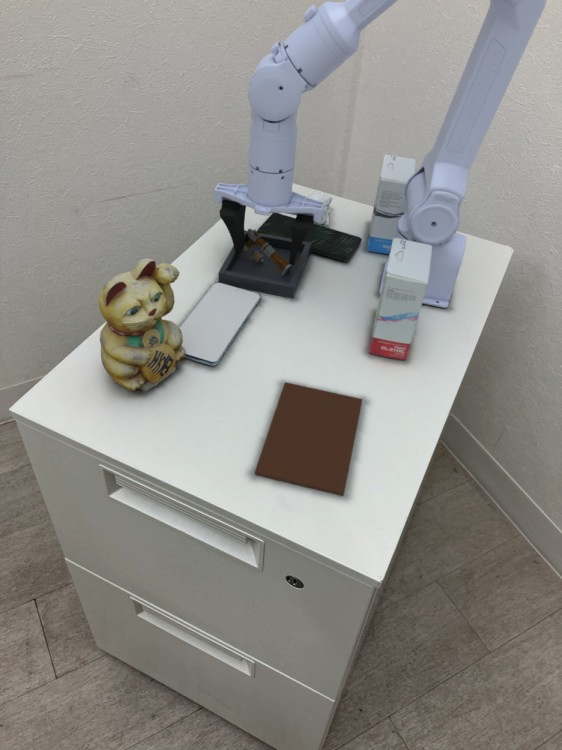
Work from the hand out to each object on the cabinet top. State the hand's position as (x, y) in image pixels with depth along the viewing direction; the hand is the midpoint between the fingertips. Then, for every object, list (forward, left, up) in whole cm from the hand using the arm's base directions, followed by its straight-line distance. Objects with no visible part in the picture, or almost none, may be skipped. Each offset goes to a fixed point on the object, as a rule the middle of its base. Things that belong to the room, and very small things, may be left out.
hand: (265, 255), depth 81 cm
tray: (0, 0, -2) cm, 2 cm away
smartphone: (+3, +14, -2) cm, 14 cm away
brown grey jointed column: (0, 0, -2) cm, 2 cm away
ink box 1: (-16, -14, -2) cm, 21 cm away
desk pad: (-13, +28, -2) cm, 31 cm away
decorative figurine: (+8, +24, -2) cm, 26 cm away
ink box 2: (-19, +9, -2) cm, 22 cm away
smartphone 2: (-5, -9, -2) cm, 11 cm away
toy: (-7, -16, 0) cm, 18 cm away
